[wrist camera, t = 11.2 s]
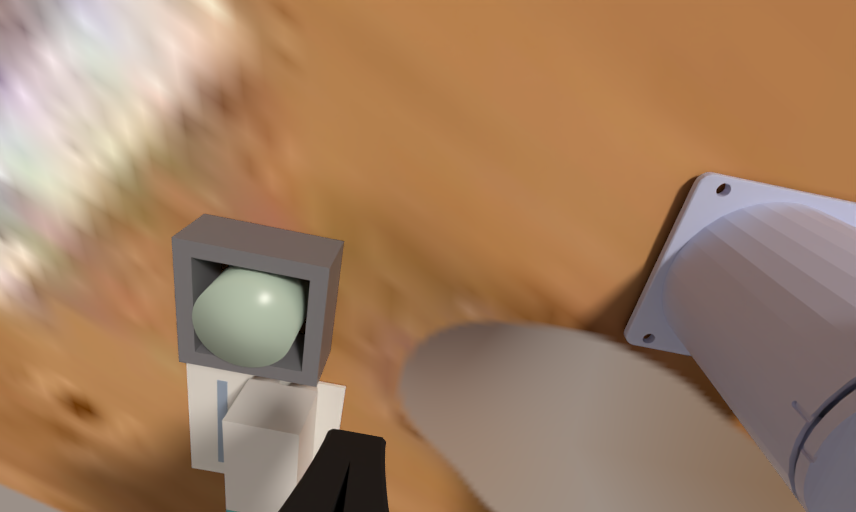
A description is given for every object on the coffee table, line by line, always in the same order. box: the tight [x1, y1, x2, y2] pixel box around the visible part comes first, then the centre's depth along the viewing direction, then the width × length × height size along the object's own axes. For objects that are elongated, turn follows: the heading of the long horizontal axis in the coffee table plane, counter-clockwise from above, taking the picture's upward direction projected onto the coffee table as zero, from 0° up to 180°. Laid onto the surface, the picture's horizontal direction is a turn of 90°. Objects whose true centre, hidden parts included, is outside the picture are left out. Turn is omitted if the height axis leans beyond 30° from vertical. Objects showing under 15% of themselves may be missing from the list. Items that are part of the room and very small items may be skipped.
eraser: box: [222, 376, 318, 512], centre depth 23 cm, size 8×3×3 cm, turn 171°
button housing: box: [172, 214, 344, 387], centre depth 20 cm, size 6×6×2 cm
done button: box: [192, 265, 310, 368], centre depth 19 cm, size 4×4×3 cm
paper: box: [187, 363, 346, 474], centre depth 25 cm, size 8×8×1 cm
